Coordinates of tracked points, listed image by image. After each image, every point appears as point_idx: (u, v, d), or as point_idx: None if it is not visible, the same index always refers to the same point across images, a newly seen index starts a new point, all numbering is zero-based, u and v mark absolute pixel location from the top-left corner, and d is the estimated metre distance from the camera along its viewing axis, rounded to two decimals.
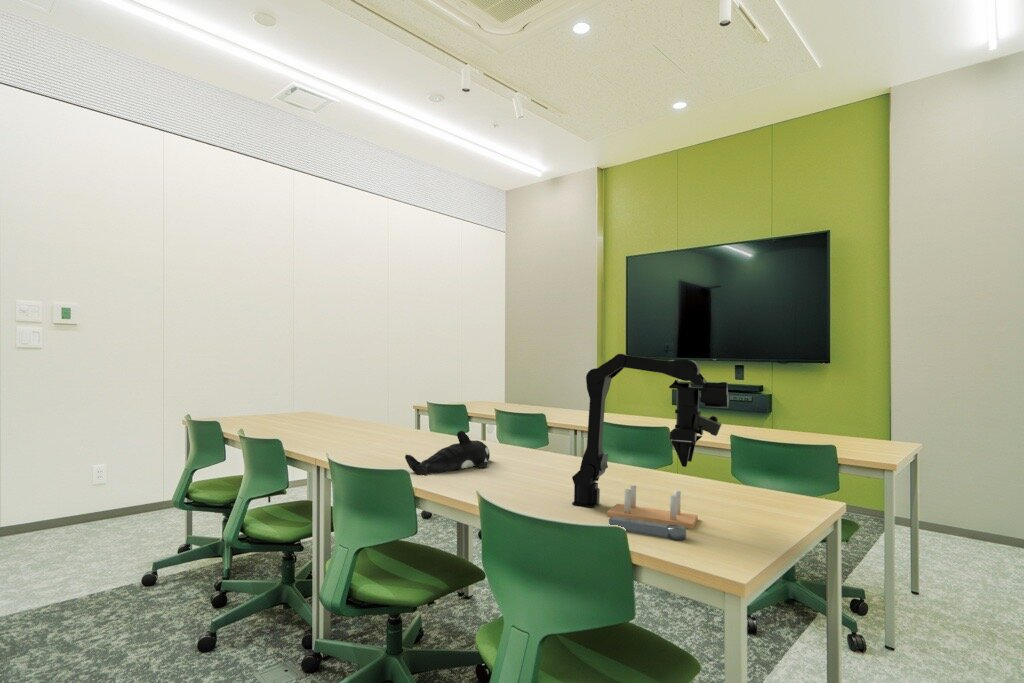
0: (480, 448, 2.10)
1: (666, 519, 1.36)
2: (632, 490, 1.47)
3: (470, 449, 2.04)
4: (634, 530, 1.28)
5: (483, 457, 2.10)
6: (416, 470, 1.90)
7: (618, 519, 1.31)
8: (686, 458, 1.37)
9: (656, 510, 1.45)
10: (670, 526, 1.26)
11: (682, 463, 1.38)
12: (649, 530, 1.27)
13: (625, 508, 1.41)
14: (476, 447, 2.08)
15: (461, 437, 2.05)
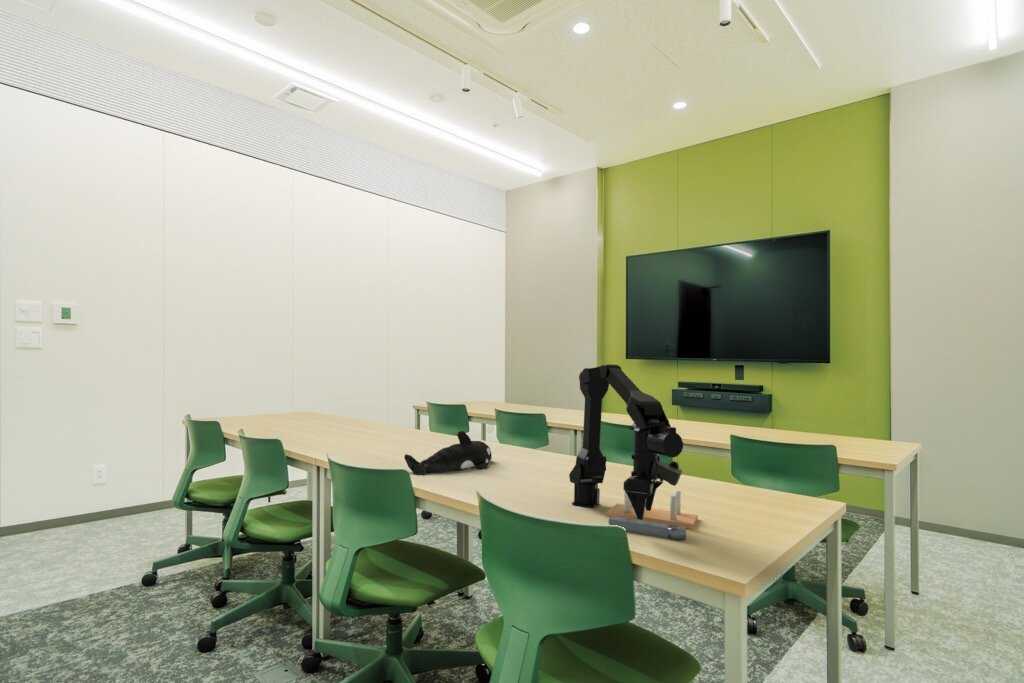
0: (481, 448, 2.09)
1: (666, 519, 1.36)
2: None
3: (470, 450, 2.03)
4: (634, 530, 1.28)
5: (484, 457, 2.09)
6: (414, 469, 1.90)
7: (618, 519, 1.31)
8: (642, 510, 1.24)
9: (656, 510, 1.45)
10: (670, 526, 1.26)
11: (638, 516, 1.25)
12: (648, 530, 1.27)
13: (625, 508, 1.41)
14: (476, 447, 2.07)
15: (461, 437, 2.05)
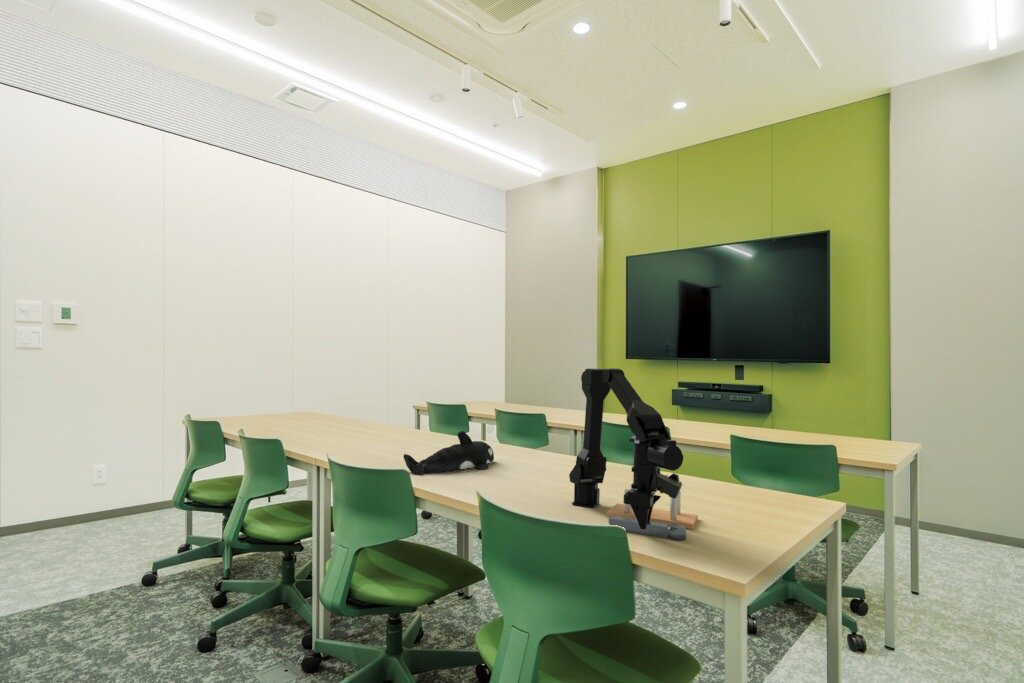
0: (482, 449, 2.08)
1: (666, 519, 1.36)
2: None
3: (470, 450, 2.02)
4: (634, 530, 1.28)
5: (485, 458, 2.07)
6: (412, 469, 1.91)
7: (618, 518, 1.31)
8: (645, 520, 1.26)
9: (656, 510, 1.45)
10: (670, 525, 1.26)
11: (641, 525, 1.27)
12: (649, 530, 1.27)
13: (625, 508, 1.41)
14: (477, 448, 2.06)
15: (461, 438, 2.04)
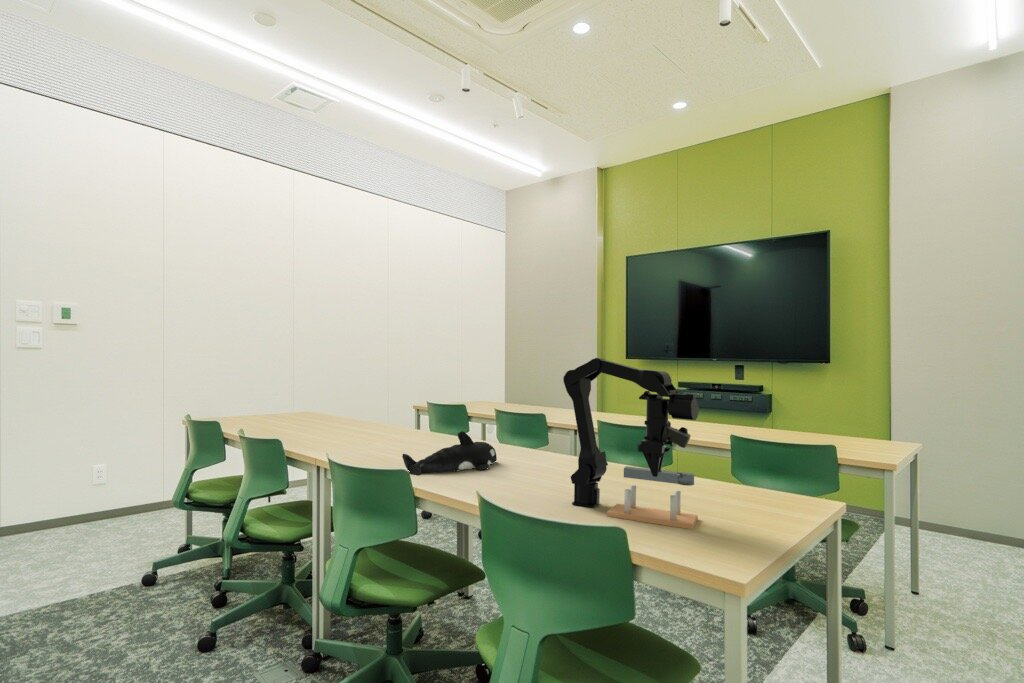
0: (482, 450, 2.06)
1: (666, 519, 1.36)
2: (632, 490, 1.47)
3: (470, 451, 2.01)
4: (647, 477, 1.41)
5: (485, 459, 2.06)
6: (410, 469, 1.91)
7: (632, 468, 1.44)
8: (656, 468, 1.39)
9: (656, 510, 1.45)
10: (680, 473, 1.39)
11: (653, 473, 1.40)
12: (660, 477, 1.40)
13: (625, 508, 1.41)
14: (477, 449, 2.04)
15: (461, 438, 2.03)
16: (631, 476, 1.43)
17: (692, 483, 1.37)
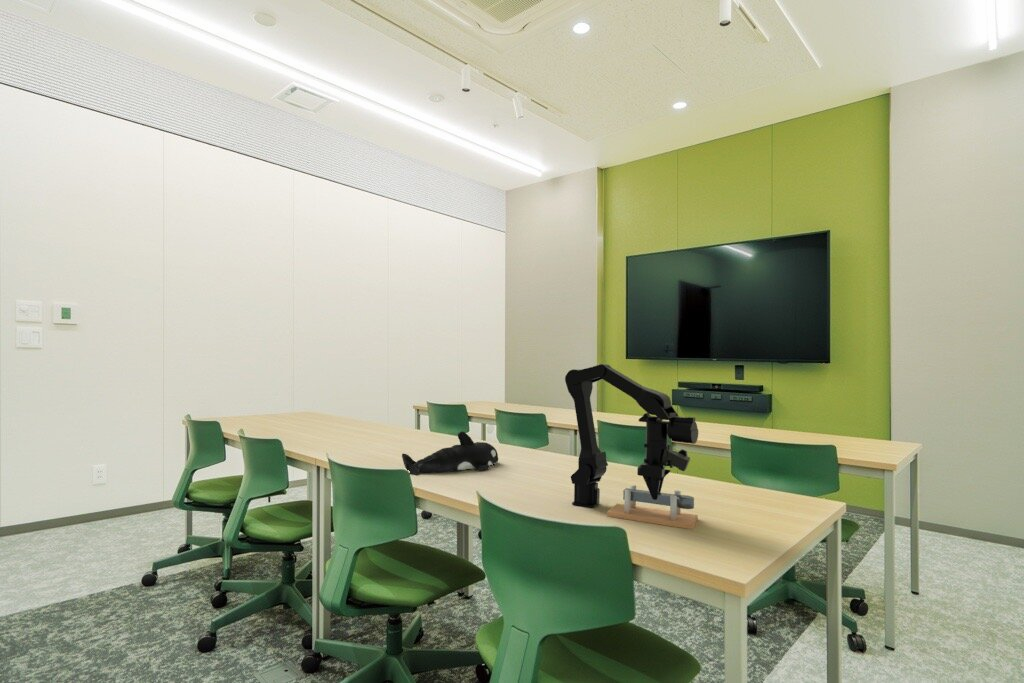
0: (483, 450, 2.05)
1: (666, 519, 1.36)
2: None
3: (469, 451, 2.00)
4: (646, 500, 1.41)
5: (486, 459, 2.05)
6: (409, 469, 1.91)
7: (632, 490, 1.44)
8: (656, 491, 1.39)
9: (656, 510, 1.45)
10: (679, 496, 1.39)
11: (652, 496, 1.40)
12: (660, 500, 1.40)
13: (625, 508, 1.41)
14: (477, 449, 2.03)
15: (461, 438, 2.02)
16: (631, 498, 1.43)
17: (692, 506, 1.37)
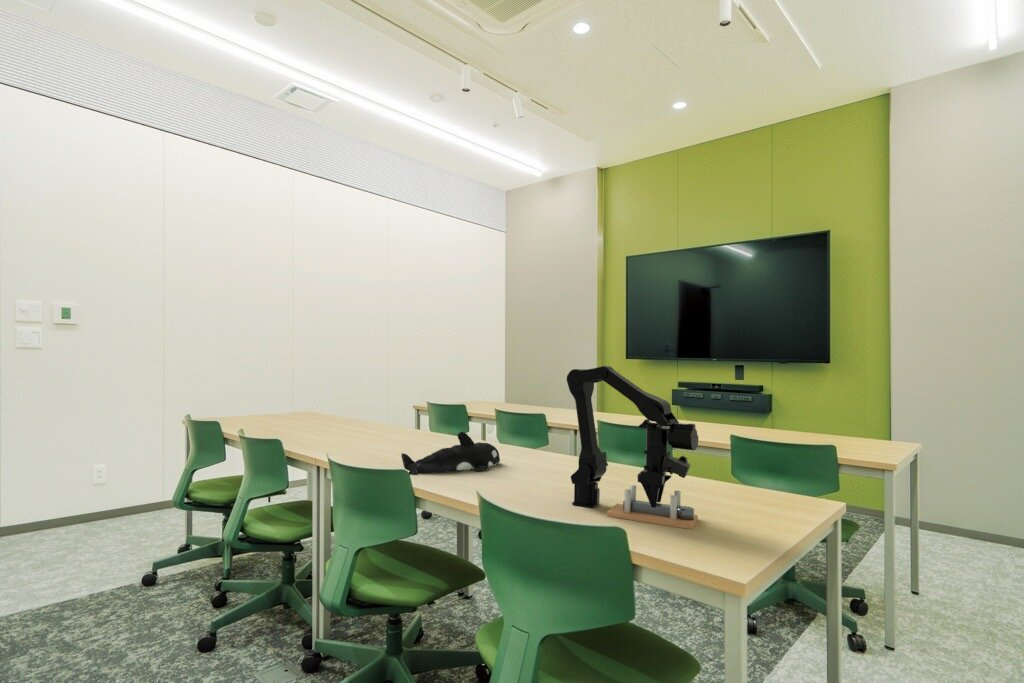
0: (483, 450, 2.04)
1: (666, 519, 1.36)
2: (632, 490, 1.47)
3: (469, 451, 1.99)
4: (646, 511, 1.41)
5: (486, 460, 2.03)
6: (407, 469, 1.92)
7: (632, 501, 1.44)
8: (655, 499, 1.38)
9: None
10: (679, 507, 1.39)
11: (651, 504, 1.39)
12: (660, 511, 1.40)
13: (625, 508, 1.41)
14: (477, 449, 2.02)
15: (461, 438, 2.02)
16: (631, 509, 1.43)
17: (692, 518, 1.36)
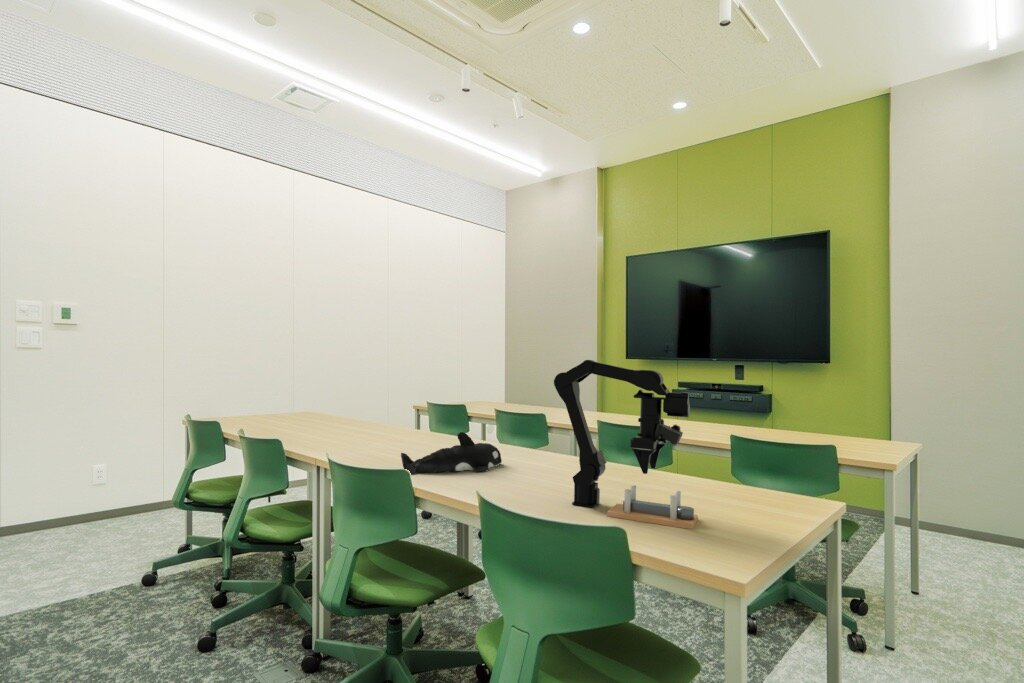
0: (483, 451, 2.02)
1: (666, 519, 1.36)
2: (632, 490, 1.47)
3: (468, 452, 1.98)
4: (646, 511, 1.41)
5: (486, 461, 2.02)
6: (406, 468, 1.92)
7: (632, 501, 1.44)
8: (646, 465, 1.42)
9: None
10: (679, 507, 1.39)
11: (643, 470, 1.43)
12: (660, 511, 1.40)
13: (625, 508, 1.41)
14: (476, 450, 2.01)
15: (461, 439, 2.01)
16: (631, 509, 1.43)
17: (692, 518, 1.36)
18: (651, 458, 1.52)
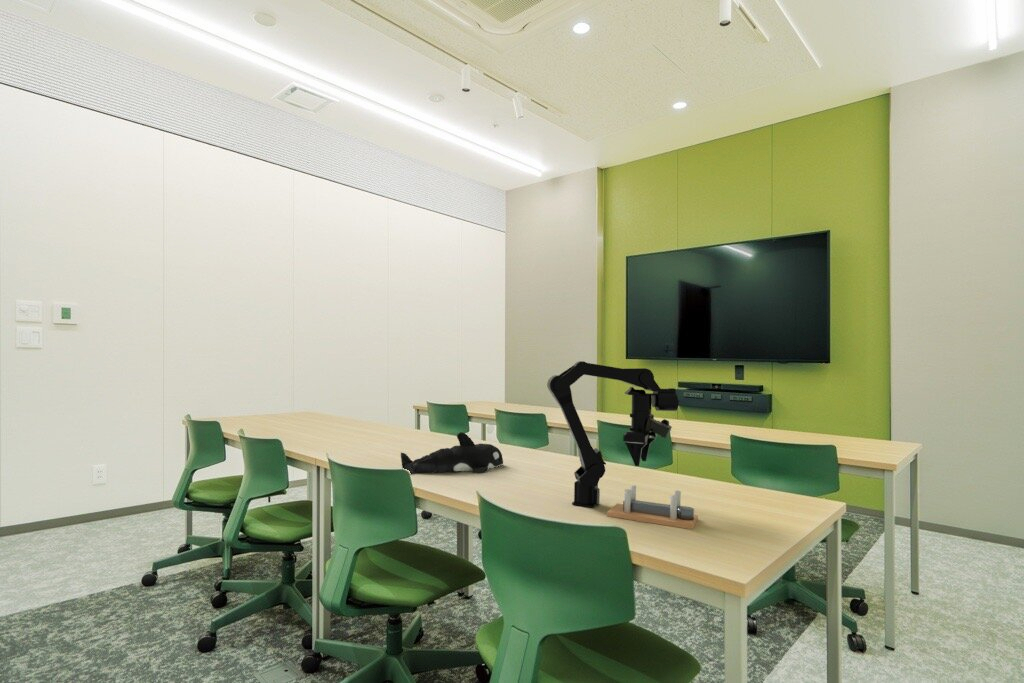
0: (482, 452, 2.01)
1: (666, 519, 1.36)
2: (632, 490, 1.47)
3: (467, 452, 1.97)
4: (646, 511, 1.41)
5: (485, 461, 2.00)
6: (404, 468, 1.93)
7: (632, 501, 1.44)
8: (638, 458, 1.51)
9: None
10: (679, 507, 1.39)
11: (635, 463, 1.51)
12: (660, 511, 1.40)
13: (625, 508, 1.41)
14: (476, 450, 2.00)
15: (460, 439, 2.00)
16: (631, 509, 1.43)
17: (692, 518, 1.36)
18: (642, 451, 1.60)
